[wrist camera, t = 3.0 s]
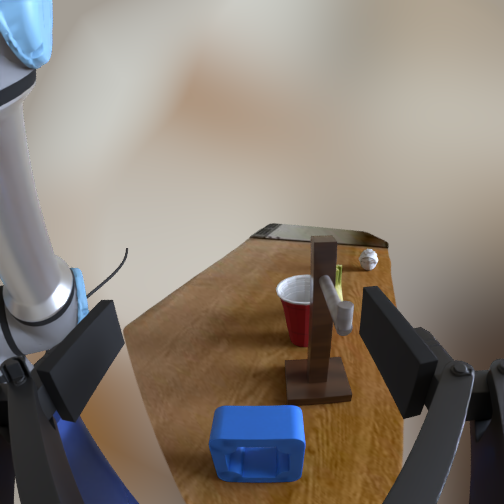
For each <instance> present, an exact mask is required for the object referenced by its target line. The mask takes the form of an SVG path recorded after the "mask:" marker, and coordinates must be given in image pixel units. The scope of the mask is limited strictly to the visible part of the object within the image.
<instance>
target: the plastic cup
mask: <svg viewBox="0 0 504 504" xmlns="http://www.w3.org/2000/svg"><path fill="white" fill-rule="evenodd" d="M310 277H311V275H298V276H293V277H290V278H287V279H285V280H283V281H282V282H280V283H279V284H278V286H277V288H276V291H277V295H278V296H279V297H280V299H281V302H282V305H283V308H284V313H285V318H286V323H287V327H288V331H289V337H290V340H291V342H292V343H293V344H294V345H297V346H300V347H308V340H309V315H310Z"/></svg>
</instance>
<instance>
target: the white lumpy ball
mask: <svg viewBox="0 0 504 504" xmlns="http://www.w3.org/2000/svg"><path fill="white" fill-rule="evenodd" d="M359 261H360V264H361V266H362V267H363V268H364V269H365V270H372V269H373V268H374V267H375V266H376V264H377V262H378V258H377V254H376V253H375V251H372V249H366V250H364V251H363V252H362V253H361V255H360V257H359Z"/></svg>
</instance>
